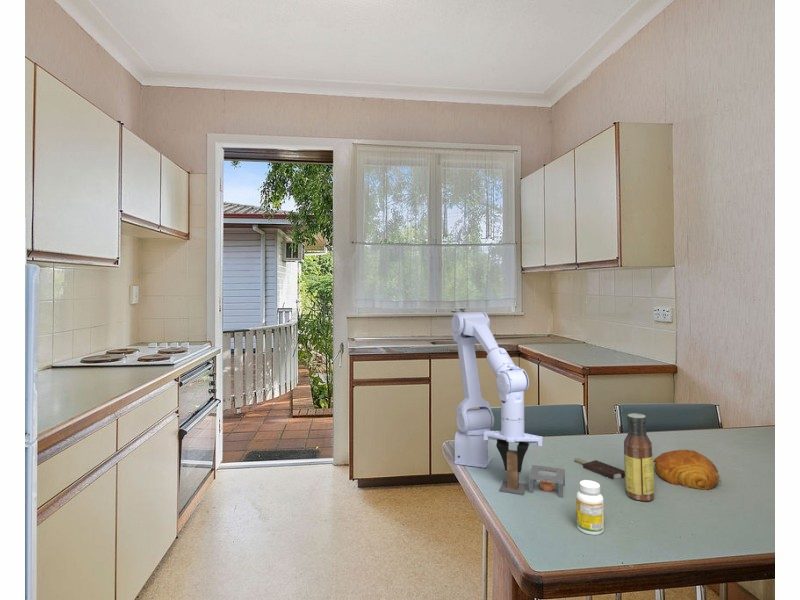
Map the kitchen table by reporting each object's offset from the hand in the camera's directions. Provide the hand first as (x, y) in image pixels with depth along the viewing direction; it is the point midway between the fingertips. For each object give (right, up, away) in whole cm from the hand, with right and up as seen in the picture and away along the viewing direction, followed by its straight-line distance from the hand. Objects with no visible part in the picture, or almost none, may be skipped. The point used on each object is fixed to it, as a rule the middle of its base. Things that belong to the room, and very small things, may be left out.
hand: (513, 470), depth 116 cm
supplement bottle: (+11, -5, -20) cm, 23 cm away
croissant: (+47, -4, +5) cm, 47 cm away
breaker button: (+9, -5, 0) cm, 10 cm away
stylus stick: (0, -4, 0) cm, 4 cm away
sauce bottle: (+29, -5, -6) cm, 30 cm away
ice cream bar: (+26, -5, +12) cm, 29 cm away
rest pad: (0, -5, 0) cm, 5 cm away
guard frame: (+9, -5, 0) cm, 10 cm away
